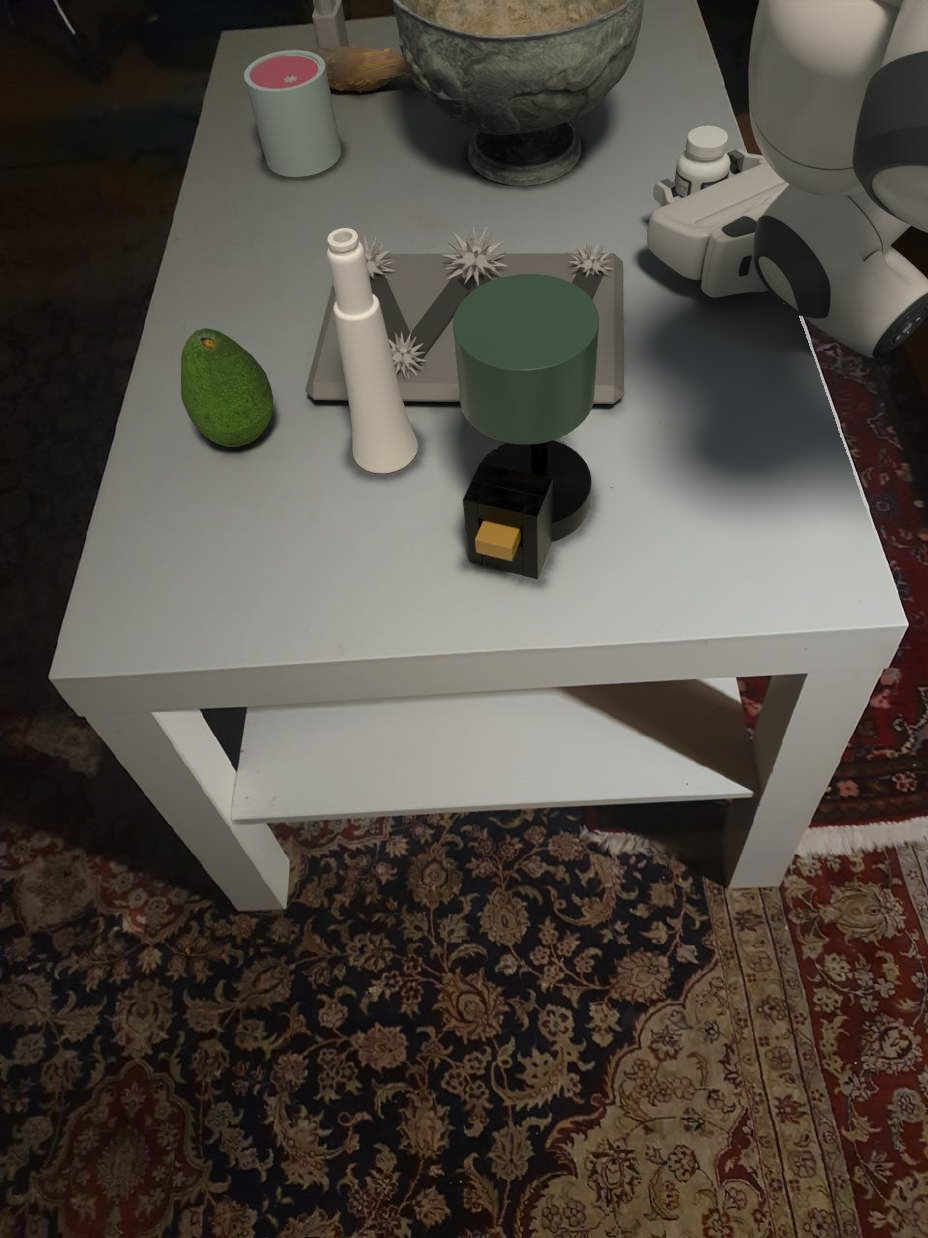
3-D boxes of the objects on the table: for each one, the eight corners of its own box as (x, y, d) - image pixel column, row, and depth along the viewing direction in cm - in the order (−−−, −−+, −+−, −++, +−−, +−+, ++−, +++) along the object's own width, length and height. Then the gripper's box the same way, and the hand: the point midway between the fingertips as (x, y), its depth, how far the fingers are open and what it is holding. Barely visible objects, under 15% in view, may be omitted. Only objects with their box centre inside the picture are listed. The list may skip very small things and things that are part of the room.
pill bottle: (723, 212, 100) (740, 124, 92) (714, 242, 98) (730, 153, 90) (674, 206, 102) (686, 118, 93) (664, 235, 99) (675, 147, 91)
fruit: (198, 471, 85) (152, 370, 75) (203, 410, 89) (160, 308, 79) (283, 460, 85) (248, 359, 75) (284, 400, 89) (251, 297, 79)
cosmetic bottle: (353, 478, 83) (300, 267, 65) (351, 430, 86) (300, 216, 68) (420, 470, 83) (386, 256, 65) (415, 422, 86) (381, 206, 68)
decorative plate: (306, 409, 88) (289, 351, 82) (342, 268, 100) (329, 208, 94) (623, 413, 85) (629, 352, 79) (622, 266, 97) (627, 204, 91)
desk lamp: (561, 585, 75) (566, 403, 58) (446, 556, 77) (420, 374, 61) (603, 470, 81) (619, 277, 65) (496, 447, 84) (485, 255, 67)
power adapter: (351, 55, 125) (335, -46, 115) (344, 76, 122) (327, -26, 112) (329, 56, 126) (311, -45, 116) (322, 76, 123) (302, -25, 113)
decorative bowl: (682, 172, 104) (700, -29, 88) (480, 251, 100) (460, 55, 83) (566, 81, 119) (563, -107, 102) (386, 146, 114) (352, -39, 98)
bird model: (296, 81, 122) (287, 41, 118) (453, 73, 121) (450, 32, 117) (290, 105, 119) (281, 65, 115) (451, 97, 117) (448, 55, 113)
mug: (336, 174, 110) (319, 88, 101) (260, 178, 110) (237, 93, 102) (348, 113, 117) (333, 28, 109) (277, 117, 118) (257, 32, 110)
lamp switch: (512, 561, 71) (511, 548, 70) (475, 552, 72) (474, 539, 71) (521, 538, 73) (521, 524, 71) (485, 529, 73) (484, 516, 72)
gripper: (877, 169, 88) (780, 108, 95) (706, 246, 84) (617, 176, 90) (858, 228, 93) (767, 166, 100) (696, 304, 89) (613, 233, 96)
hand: (695, 171), depth 95 cm, fingers open, 8 cm apart
